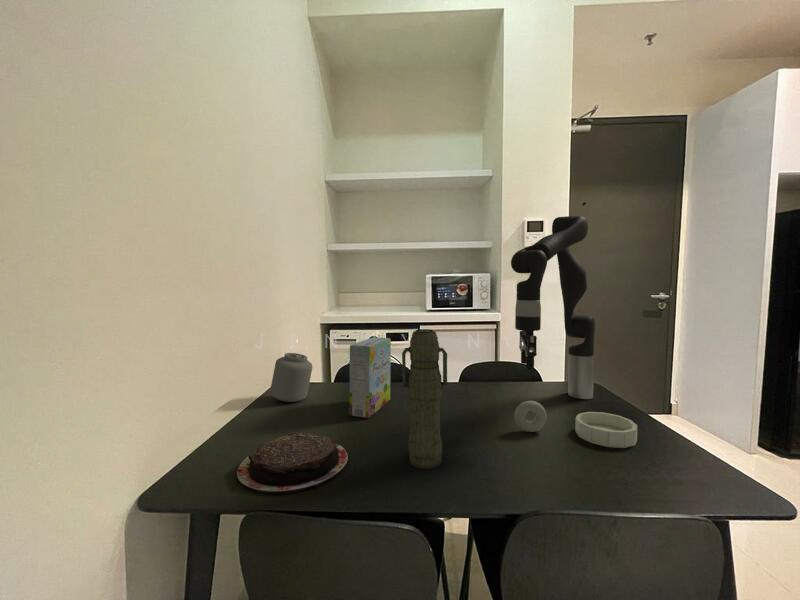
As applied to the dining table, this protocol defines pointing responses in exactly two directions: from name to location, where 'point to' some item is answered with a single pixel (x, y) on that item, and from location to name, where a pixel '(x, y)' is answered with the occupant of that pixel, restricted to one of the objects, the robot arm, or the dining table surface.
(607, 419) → the bowl
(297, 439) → the chocolate cake
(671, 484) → the dining table surface
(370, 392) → the snack box
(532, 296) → the robot arm
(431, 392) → the thermos
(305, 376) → the jar
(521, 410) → the donut
